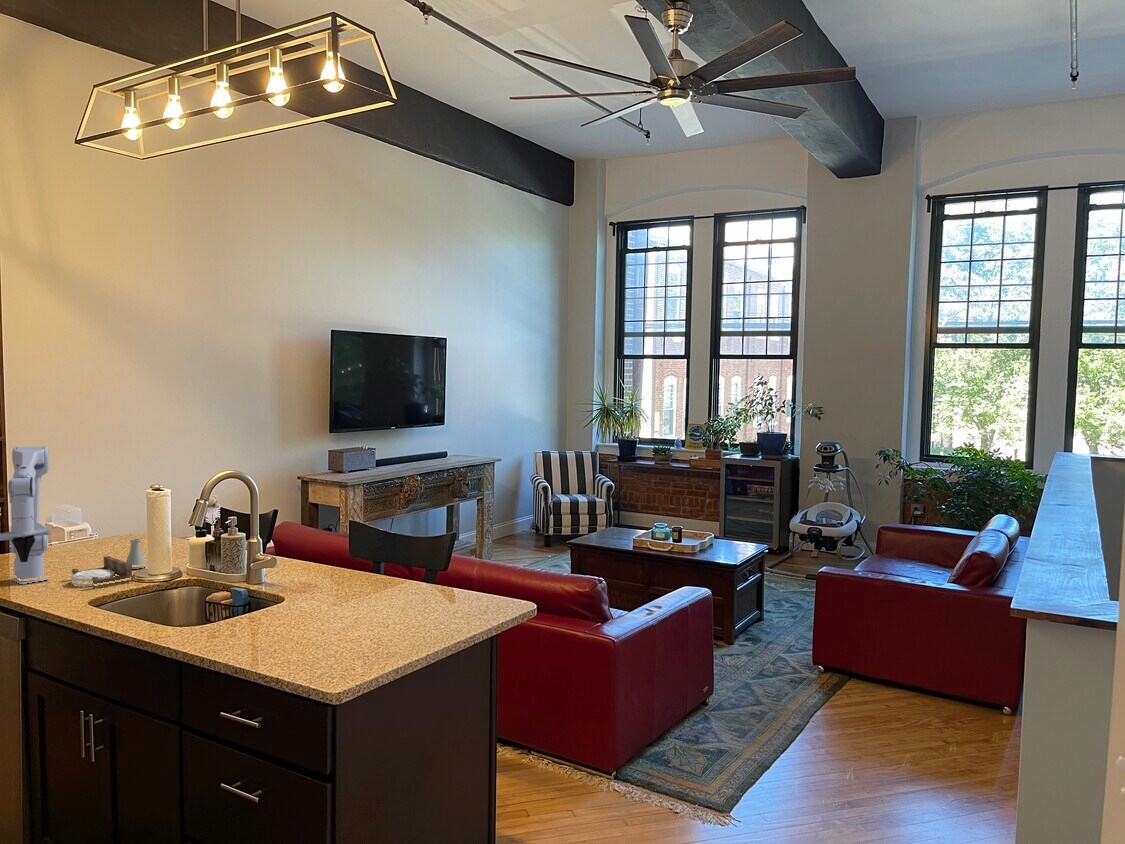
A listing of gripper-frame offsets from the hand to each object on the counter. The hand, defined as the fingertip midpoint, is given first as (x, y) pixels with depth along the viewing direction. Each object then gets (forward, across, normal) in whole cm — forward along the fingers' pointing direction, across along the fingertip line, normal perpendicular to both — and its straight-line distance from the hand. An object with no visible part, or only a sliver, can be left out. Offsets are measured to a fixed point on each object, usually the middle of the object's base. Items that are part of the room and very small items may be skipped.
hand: (23, 561), depth 251 cm
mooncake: (+10, +18, -3) cm, 21 cm away
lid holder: (+9, +21, -3) cm, 23 cm away
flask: (+10, +36, +8) cm, 38 cm away
